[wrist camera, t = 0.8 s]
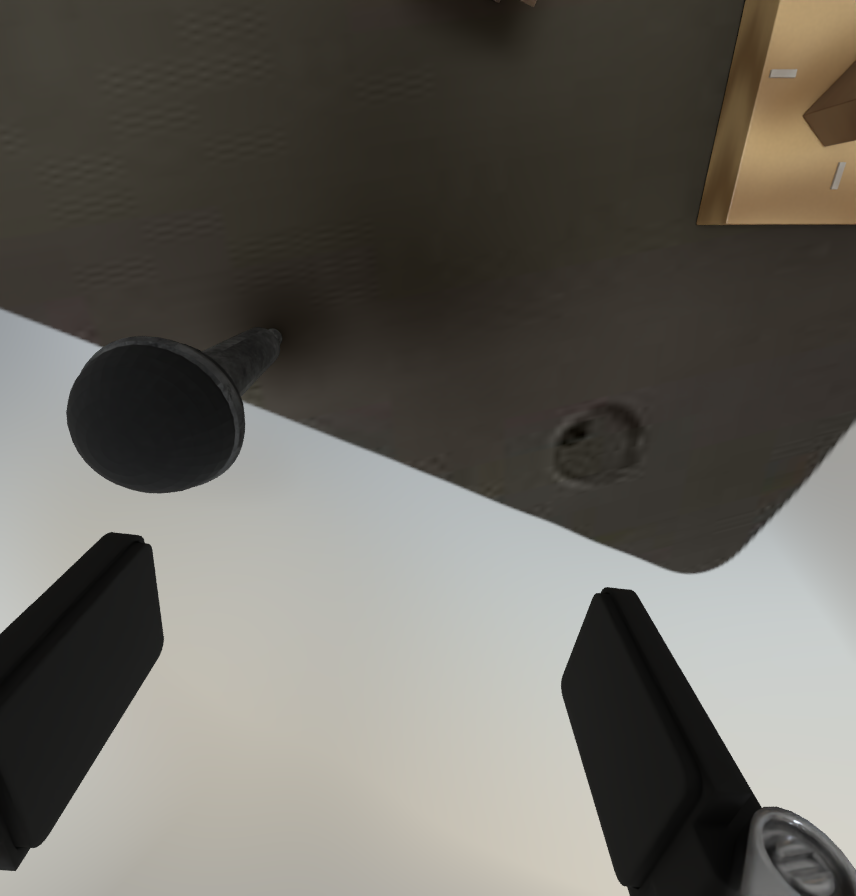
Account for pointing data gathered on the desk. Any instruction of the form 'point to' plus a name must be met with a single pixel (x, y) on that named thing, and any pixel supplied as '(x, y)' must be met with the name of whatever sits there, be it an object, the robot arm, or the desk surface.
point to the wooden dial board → (783, 120)
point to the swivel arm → (836, 111)
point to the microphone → (166, 408)
